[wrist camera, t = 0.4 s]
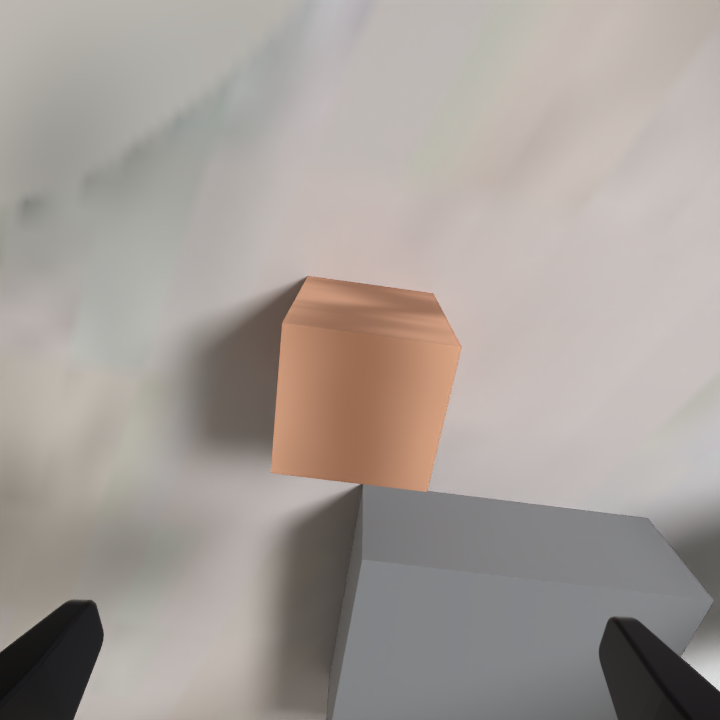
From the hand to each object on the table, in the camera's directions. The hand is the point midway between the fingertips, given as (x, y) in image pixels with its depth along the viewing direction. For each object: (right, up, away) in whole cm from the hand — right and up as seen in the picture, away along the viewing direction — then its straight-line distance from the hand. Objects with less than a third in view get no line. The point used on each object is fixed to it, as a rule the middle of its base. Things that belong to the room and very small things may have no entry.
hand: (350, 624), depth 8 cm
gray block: (+6, -8, +17) cm, 20 cm away
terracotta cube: (0, +5, +11) cm, 12 cm away
